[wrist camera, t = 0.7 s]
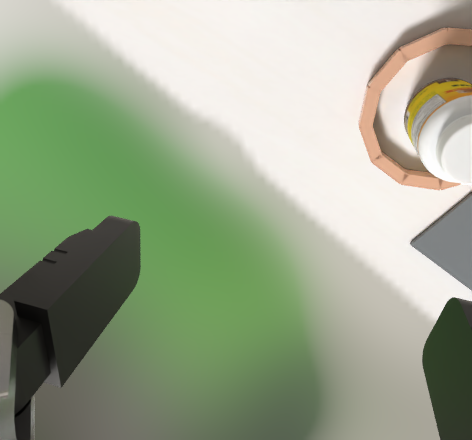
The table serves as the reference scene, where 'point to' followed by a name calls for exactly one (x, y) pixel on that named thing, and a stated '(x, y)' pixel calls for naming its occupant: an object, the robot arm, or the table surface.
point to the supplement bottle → (443, 128)
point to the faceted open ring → (372, 97)
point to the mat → (451, 242)
